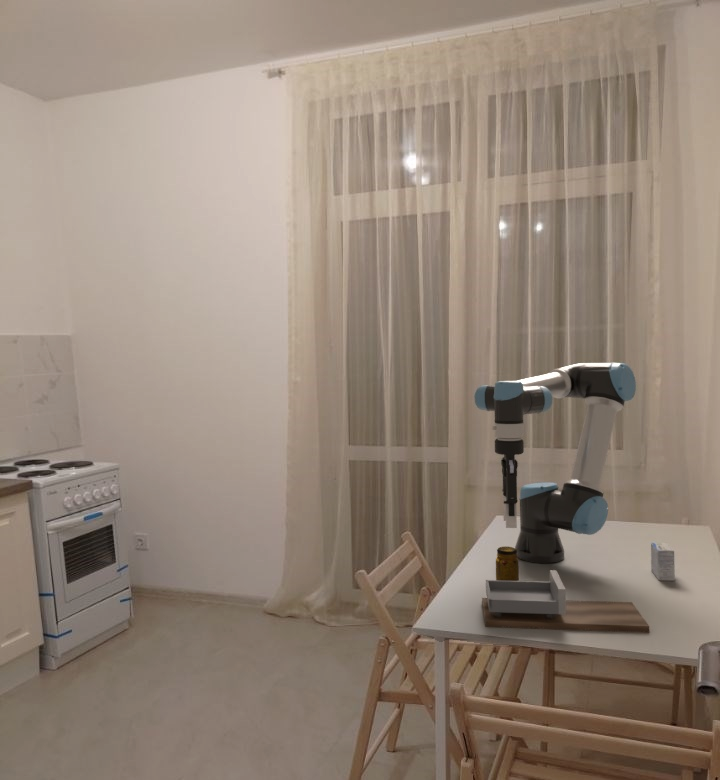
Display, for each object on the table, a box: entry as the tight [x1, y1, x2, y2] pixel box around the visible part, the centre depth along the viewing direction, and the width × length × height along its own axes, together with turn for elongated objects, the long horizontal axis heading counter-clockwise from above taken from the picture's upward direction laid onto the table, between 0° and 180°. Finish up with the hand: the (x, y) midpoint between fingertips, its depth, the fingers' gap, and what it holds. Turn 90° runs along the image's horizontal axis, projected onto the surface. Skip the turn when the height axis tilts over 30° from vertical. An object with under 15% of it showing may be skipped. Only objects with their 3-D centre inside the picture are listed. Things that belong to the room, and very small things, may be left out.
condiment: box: [495, 546, 520, 581], centre depth 169 cm, size 7×8×12 cm
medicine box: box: [650, 542, 676, 582], centre depth 179 cm, size 8×4×9 cm, turn 168°
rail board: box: [481, 597, 650, 633], centre depth 153 cm, size 14×37×2 cm, turn 82°
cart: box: [485, 569, 567, 620], centre depth 154 cm, size 13×18×8 cm
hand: (510, 523), depth 168 cm, fingers open, 6 cm apart
